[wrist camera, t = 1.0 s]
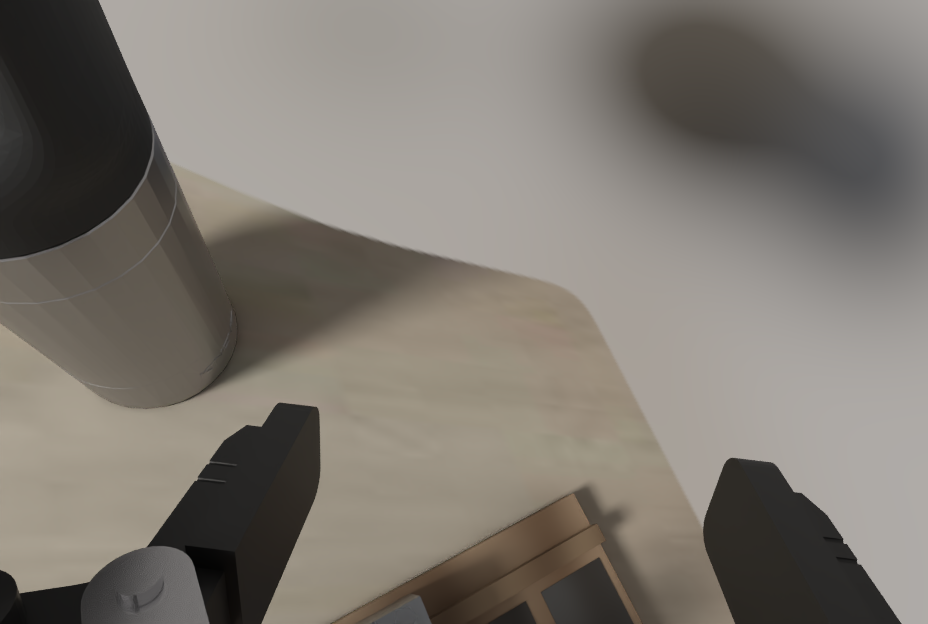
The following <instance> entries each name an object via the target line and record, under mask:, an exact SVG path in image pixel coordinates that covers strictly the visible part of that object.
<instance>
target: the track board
mask: <svg viewBox="0 0 928 624" xmlns="http://www.w3.org/2000/svg"><path fill="white" fill-rule="evenodd" d="M604 541H606V540H605V538H604V536H603V534H602V532H601V530H600V528H599V526H598V525H597V524H593V525H590V523H589V521H588V520H587V518H586V516H585V514H584V512H583V510H582V508H581V506H580V504H579V503H578V501H577V499H576V497H575V495H574V493H573V494H570V495H568V496H565V497H563V498H561V499H560V500H558V501H556V502H554V503H552V504H550V505H549V506H547V507H545V508H543V509H541V510H539V511H537V512H536V513H534V514H532V515H530V516H528V517H526V518H525V519H523V520H521V521H519V522H517V523H515V524H513V525H512V526H510V527H508V528H506V529H504V530H502V531H501V532H499V533H497V534H495V535H493V536H491V537H489V538H488V539H486V540H484V541H482V542H480V543H478V544H477V545H475V546H473V547H471V548H469V549H467V550H465V551H464V552H462V553H460V554H458V555H456V556H454V557H453V558H451V559H449V560H447V561H445V562H443V563H442V564H440V565H438V566H436V567H434V568H432V569H430V570H429V571H427V572H425V573H423V574H421V575H419V576H418V577H416V578H414V579H412V580H410V581H408V582H406V583H405V584H403V585H401V586H399V587H397V588H395V589H394V590H392V591H390V592H388V593H386V594H384V595H382V596H381V597H379V598H377V599H375V600H373V601H371V602H370V603H368V604H366V605H364V606H362V607H360V608H359V609H357V610H355V611H353V612H351V613H349V614H347V615H346V616H344V617H342V618H340V619H338V620H336V621H335V622H333V623H331V624H355V623H357V622H359V621H361V620H363V619H364V618H366V617H368V616H370V615H372V614H374V613H375V612H377V611H379V610H381V609H383V608H384V607H386V606H388V605H390V604H392V603H393V602H395V601H397V600H399V599H401V598H403V597H404V596H406V595H408V594H414V595H418V596H420V597H421V599H422V602H423V604H424V607H425V609H426V611H427V614H428V616H429V619H430V621H431V623H432V624H643V623H642V621H641V619H640V618H639V616H638V614H637V612H636V610H635V608H634V606H633V604H632V603H631V601H630V599H629V597H628V595H627V593H626V591H625V589H624V587H623V586H622V584H621V582H620V580H619V578H618V576H617V574H616V572H615V570H614V569H613V567H612V565H611V563H610V561H609V559H608V557H607V555H606V553H605V552H604V550H603V548H602V546H601V543H603V542H604Z"/></svg>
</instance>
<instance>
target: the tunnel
mask: <svg viewBox="0 0 928 624" xmlns="http://www.w3.org/2000/svg"><path fill="white" fill-rule="evenodd" d="M355 624H432V623H431V621H430V619H429V616H428V614H427V611H426V609H425V607H424V604H423V602H422V599H421V597H420V596H418V595H414V594H408V595H406V596H404V597H403V598H401V599H399V600H397V601H395V602H393V603H392V604H390V605H388V606H386V607H384V608H383V609H381V610H379V611H377V612H375V613H374V614H372V615H370V616H368V617H366V618H364V619H363V620H361V621H359V622H357V623H355Z"/></svg>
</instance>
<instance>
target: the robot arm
mask: <svg viewBox="0 0 928 624" xmlns="http://www.w3.org/2000/svg"><path fill="white" fill-rule="evenodd" d="M0 323H1V324H2V325H3V326H5V327H6V328H8V329H9V330H10V331H12V332H13V333H14V334H16V335H17V336H18V337H20V338H21V339H23V340H24V341H25V342H27V343H28V344H29V345H31V346H32V347H33V348H35V349H36V350H38V351H39V352H40V353H42V354H43V355H44V356H46V357H47V358H48V359H50V360H51V361H53V362H54V363H55V364H57V365H58V366H59V367H61V368H62V369H63V370H65V371H66V372H67V373H68V374H70V375H71V376H72V377H74V378H75V379H77V380H78V381H79V382H81V383H82V384H84V385H85V386H86V387H88V388H89V389H90V390H92V391H93V392H95V393H96V394H97V395H99V396H101V397H103V398H104V399H106V400H108V401H110V402H112V403H115V404H118V405H122V406H125V407H130V408H143V409H148V408H157V407H165V406H168V405H172V404H175V403H178V402H182V401H184V400H186V399H188V398H190V397H192V396H194V395H196V394H198V393H199V392H200V391H202V390H203V389H204V388H206V387H207V386H208V385H210V384H211V383H212V382H213V381H214V380H215V379H216V378H217V377H218V376H219V374H220V373H221V372H222V371H223V370H224V368H225V367H226V365H227V363H228V362H229V360H230V358H231V357H232V354H233V351H234V348H235V345H236V340H237V329H238V328H237V321H236V315H235V312H234V310H233V308H232V305H231V303H230V301H229V298H228V296H227V293H226V291H225V289H224V286H223V284H222V281H221V279H220V276H219V274H218V272H217V269H216V267H215V265H214V263H213V260H212V258H211V256H210V253H209V251H208V249H207V247H206V244H205V242H204V240H203V237H202V235H201V233H200V230H199V228H198V226H197V224H196V221H195V219H194V217H193V214H192V212H191V210H190V208H189V205H188V203H187V201H186V198H185V196H184V194H183V192H182V189H181V187H180V185H179V182H178V180H177V178H176V175H175V173H174V171H173V169H172V167H171V165H170V162H169V160H168V158H167V156H166V153H165V152H164V149H163V146H162V144H161V142H160V140H159V137H158V135H157V133H156V131H155V128H154V126H153V124H152V121H151V119H150V117H149V115H148V113H147V110H146V108H145V106H144V104H143V102H142V100H141V97H140V95H139V93H138V91H137V88H136V86H135V84H134V82H133V80H132V77H131V75H130V72H129V70H128V68H127V66H126V64H125V61H124V59H123V57H122V54H121V52H120V50H119V47H118V45H117V42H116V40H115V38H114V35H113V33H112V31H111V28H110V26H109V24H108V22H107V19H106V17H105V15H104V12H103V10H102V8H101V5H100V3H99V1H98V0H0ZM319 478H320V421H319V411H318V408H317V407H312V406H304V405H295V404H287V403H278V404H277V405H276V406H275V407H274V409H273V410H272V412H271V413H270V415H269V416H268V418H267V419H266V421H265V423H264V424H263V426H262V427H258V426H250V425H246V426H245V427H243V428H242V429H241V430H239V431H238V432H236V433H235V434H233V435H232V436H230V437H229V438H227V439H226V440H224V442H223V443H222V444H221V446H220V447H219V448H218V450H217V451H216V453H215V454H214V455H213V457H212V458H211V459H210V463H209V464H207V465H206V466H205V468H204V469H203V471H202V472H201V473H200V475H199V476H198V480H197V481H195V482H194V483H193V484H192V486H191V487H190V488H189V490H188V491H187V493H186V494H185V495H184V497H183V498H182V500H181V501H180V502H179V504H178V505H177V506H176V508H175V509H174V511H173V512H172V513H171V515H170V516H169V517H168V519H167V520H166V522H165V523H164V524H163V526H162V527H161V528H160V530H159V531H158V533H157V534H156V535H155V537H154V538H153V540H152V541H151V542H150V544H149V545H148V546H147V547H146V548H142V549H138V550H134V551H132V552H129V553H127V554H124V555H122V556H121V557H119V558H117V559H115V560H113V561H112V562H110V563H109V564H107V565H106V566H105V567H104V568H103V569H101V570H100V571H99V572H98V573H97V574H96V575H95V576H94V577H93V578H92V580H91V581H90V582H88V583H83V584H78V585H72V586H66V587H59V588H52V589H46V590H39V591H33V592H26V593H20V594H19V591H18V588H17V585H16V582H15V580H14V579H13V578H12V576H11V575H9V574H8V573H6V572H4V571H1V570H0V624H261V623H262V621H263V618H264V616H265V614H266V611H267V609H268V607H269V604H270V602H271V600H272V597H273V595H274V593H275V590H276V588H277V586H278V583H279V581H280V579H281V576H282V574H283V572H284V569H285V567H286V565H287V562H288V560H289V558H290V555H291V553H292V551H293V548H294V546H295V544H296V541H297V539H298V537H299V534H300V532H301V530H302V527H303V525H304V523H305V520H306V518H307V516H308V513H309V511H310V509H311V506H312V504H313V502H314V499H315V496H316V493H317V489H318V484H319ZM703 536H704V543H705V548H706V551H707V554H708V556H709V559H710V561H711V564H712V566H713V569H714V571H715V574H716V576H717V579H718V581H719V584H720V586H721V589H722V591H723V594H724V597H725V599H726V602H727V604H728V607H729V609H730V612H731V614H732V617H733V619H734V622H735V624H901V622H900V621H899V620H898V618H897V617H896V615H895V614H894V612H893V611H892V609H891V608H890V606H889V605H888V604H887V602H886V601H885V599H884V598H883V596H882V595H881V593H880V592H879V591H878V589H877V588H876V586H875V585H874V583H873V582H872V580H871V579H870V578H869V576H868V574H867V573H866V571H865V570H864V569H863V567H862V566H861V565H859V564H857V558H856V557H855V556H854V554H853V552H852V551H851V550H850V548H849V547H848V545H847V544H844V543H843V538H842V536H841V535H840V534H839V532H838V531H837V529H836V528H835V526H834V525H833V524H832V522H831V520H830V519H829V518H828V516H827V515H826V514H825V513H824V512H823V511H822V510H820V509H819V508H818V507H817V506H816V505H815V504H813V503H812V502H811V501H810V500H809V499H808V498H807V497H805V496H804V495H803V494H802V493H795V492H793V490H792V489H791V487H790V486H789V484H788V483H787V481H786V479H785V478H784V476H783V475H782V473H781V472H780V470H779V469H778V467H777V466H776V465H775V464H773V463H771V462H762V461H755V460H746V459H738V458H730V459H728V460H727V461H726V463H725V464H724V467H723V469H722V472H721V475H720V477H719V480H718V483H717V486H716V488H715V491H714V494H713V497H712V499H711V502H710V505H709V507H708V510H707V513H706V517H705V520H704V527H703Z"/></svg>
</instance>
